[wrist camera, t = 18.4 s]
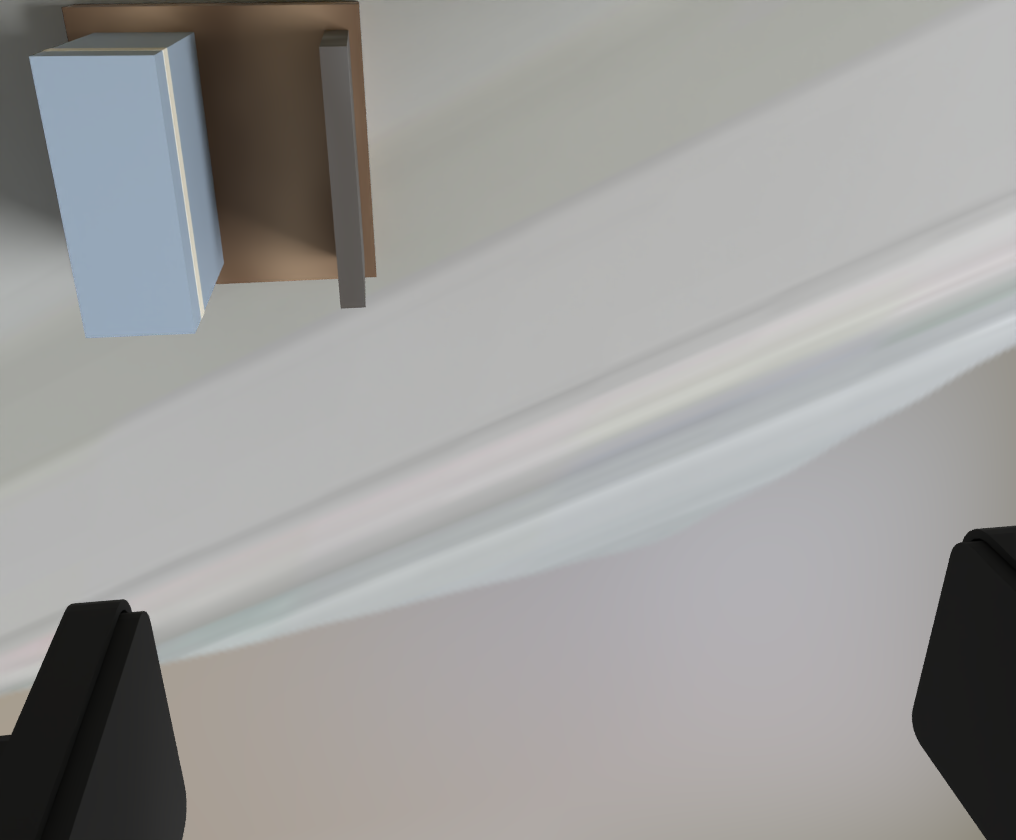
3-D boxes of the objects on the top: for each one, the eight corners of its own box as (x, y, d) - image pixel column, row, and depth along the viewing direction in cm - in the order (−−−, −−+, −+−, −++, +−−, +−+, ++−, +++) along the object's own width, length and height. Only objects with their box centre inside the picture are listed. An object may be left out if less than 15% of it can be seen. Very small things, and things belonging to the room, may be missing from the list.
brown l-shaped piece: (358, 1, 43) (358, 16, 35) (375, 264, 48) (379, 329, 40) (74, 4, 41) (6, 20, 33) (124, 275, 47) (76, 345, 39)
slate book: (194, 31, 40) (154, 54, 33) (224, 263, 45) (195, 333, 37) (93, 32, 40) (28, 55, 32) (134, 266, 44) (85, 338, 36)
